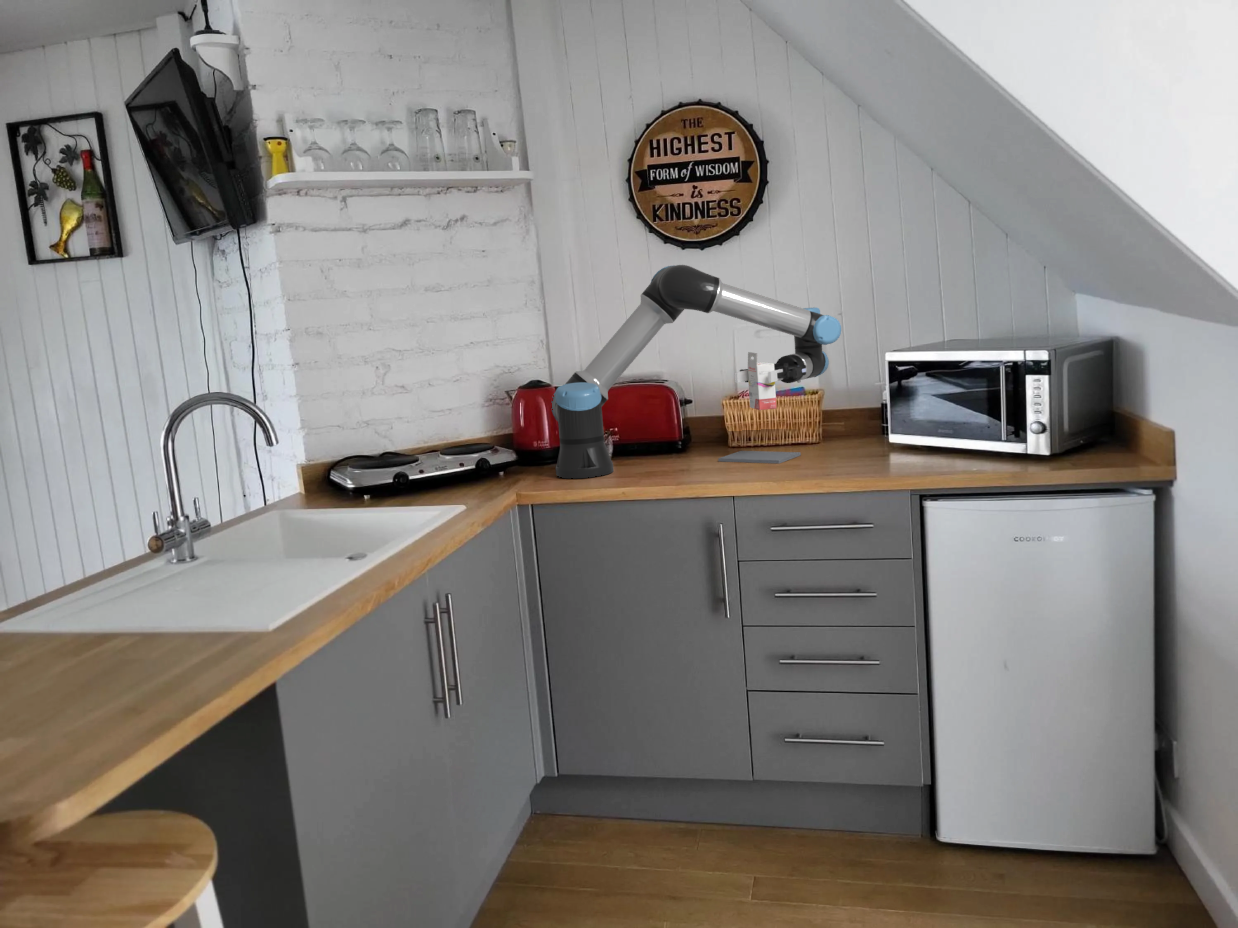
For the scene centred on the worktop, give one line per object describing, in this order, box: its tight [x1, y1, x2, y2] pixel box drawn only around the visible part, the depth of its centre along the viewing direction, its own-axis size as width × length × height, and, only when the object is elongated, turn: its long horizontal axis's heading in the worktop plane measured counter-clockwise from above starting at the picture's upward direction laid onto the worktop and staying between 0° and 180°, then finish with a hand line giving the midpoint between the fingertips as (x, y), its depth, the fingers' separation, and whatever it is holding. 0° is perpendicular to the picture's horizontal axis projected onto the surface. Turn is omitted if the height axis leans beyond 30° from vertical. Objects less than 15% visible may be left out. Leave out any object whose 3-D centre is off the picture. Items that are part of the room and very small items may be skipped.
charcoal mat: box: [718, 450, 802, 465], centre depth 280 cm, size 18×12×1 cm, turn 54°
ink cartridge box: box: [747, 351, 777, 411], centre depth 275 cm, size 9×5×15 cm, turn 10°
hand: (752, 377), depth 271 cm, fingers closed on ink cartridge box, 9 cm apart
